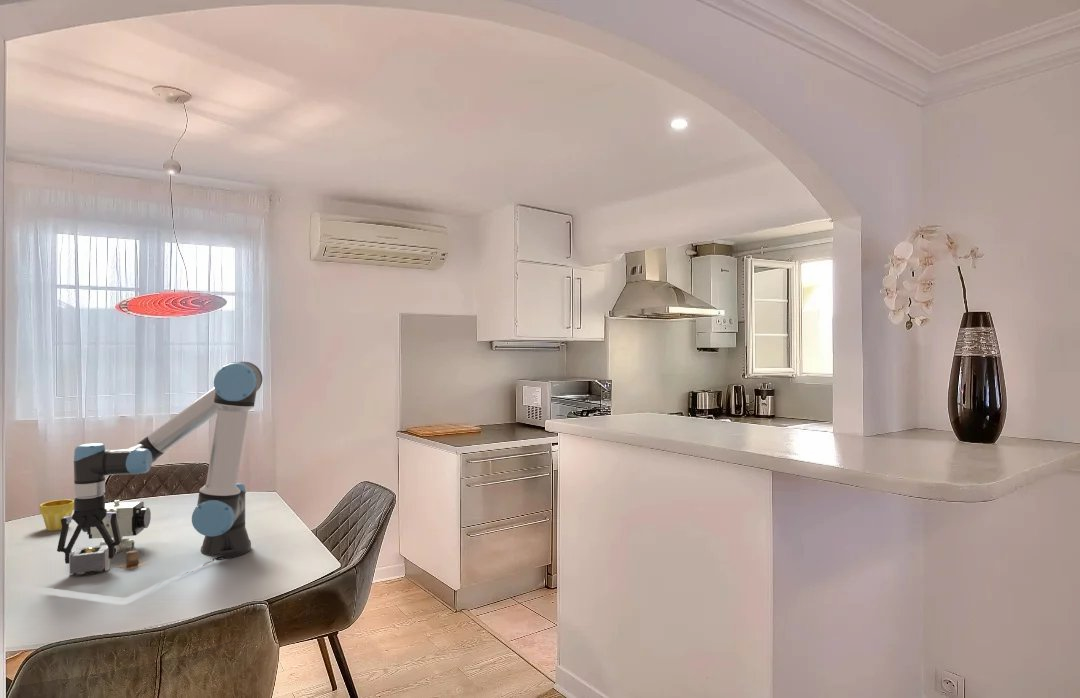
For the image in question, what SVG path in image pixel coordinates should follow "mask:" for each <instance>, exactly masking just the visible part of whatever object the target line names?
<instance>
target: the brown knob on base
mask: <svg viewBox="0 0 1080 698" xmlns="http://www.w3.org/2000/svg"><path fill="white" fill-rule="evenodd" d="M139 553H140V552H139V550H138V549H136V550H135V549H133V550H129V551H127V552H125V556H126V557H125V561H126V562H125V563H124V564H121V565H118V566H115V568H117V569H126V570H133V569H135V568H138V567H141V566H143V565H146V564H149V563H150V562H148V561H140V560H139Z"/></svg>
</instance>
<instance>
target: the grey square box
mask: <svg viewBox="0 0 1080 698" xmlns="http://www.w3.org/2000/svg"><path fill="white" fill-rule="evenodd" d="M90 547H91V548H94V549H95V552H91V553H84V552H85V550H86V549H87V548H90ZM106 547H107V545H102V546H99V545H96V546H88V547H87V546H86V547H79V548H77V547H76V549H75V551H74V553H73V554H72V555H71V556H70V574H71V573H74V574H77V573H79V572H87V571H94V570H102V569H103V570H105V549H106Z"/></svg>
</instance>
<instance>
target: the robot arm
mask: <svg viewBox="0 0 1080 698" xmlns="http://www.w3.org/2000/svg"><path fill="white" fill-rule="evenodd" d="M213 379H214V380H213V388H212V389H210V390H209V391H207V392H206V393H205V394H203V395H202V396H200V397H199V398H198V399H196V400H195V401H194V402H192V403H191V404H190V405H188V406H186V407H185V408H184V409H183V410H181V411H180V412H179V413H177V414H176V415H174V416H173V417H172V418H170V419H169V420H168V421H166V422H165V423H164V424H162V425H161V426H160V427H158V428H157V429H155V430H154V431H153V432H151V433H150V434H148V435H147V436H145V437H144V438H143V439H141V440H140V441H138V442H137V443H136V444H135V445H132V446H131V447H127V448H125V449H106V448H107V447H106V446H105V444H104V443H102V442H101V443H100V442H93V443H92V442H91V443H83V444H79V445H77V446H76V447H75V448H74V453H73V454H74V455H73V477H74V478H73V479H74V480H73V496H74V497H75V498H74V510H73V513H72V515H71V516H68V517H67V516H65V517H63V518H62V519H61V524H62V529H61V530H60V534H59V539H58V543H57V548H56V551H57V552H58V553H61V552H62V553H64V563H65V564H67V565H68V564H69V567H68V568H69V569H68V570H69V571H68V572H69V576H73V575H74V574H75V573H71V574H70V556H71V555H72V554H73V553H74V551H75V550H76V549H75V550H73V547H74V545H75V544H76V542H77V540H78V537H79V536H80V534H81V531H82V528H87V527H96V528H97V529H98V530H99V532H100V534H101V535H102V537H103V538H102V539H103V540H104V541H103V542H106V544H107V547H106V549H105V568H104V571H106V572H107V571H109V570H110V568H111V559H113V558H114V556H115V548H114V546H116V545H119V544H120V543H121V536H120V532H119V527H118V523H117V515H118V512H117V511H115V512H107V511H106V509H105V504H106V495H105V493H106V476H115V475H118V476H119V475H138V474H146V473H148V472H149V471H150V470H151V468H152V464H153V463H154V462H156V461H157V460H158V459H159V458H160V457H161V456H162V455H164V454H165V453H166V452H168V451H169V450H170V449H172V448H173V447H175V446H176V445H177V444H179V443H180V442H181V441H183V440H184V439H185V438H186V437H188V436H189V435H190V434H192V433H193V432H195V431H196V430H197V429H199V428H200V427H202V426H203V425H204V424H206V423H207V422H208V421H209V420H211V419H212V418H214V417H215V416H216V420H215V426H214V427H215V428H214V433H213V438H212V444H211V445H212V446H211V451H210V457H209V464H208V468H207V475H206V483H205V484H204V485H203V486H202V487H200V488H199V491H198V498H197V504H196V507H194V510H193V512H192V515H191V524H192V527H193V528H194V530H195V531H196V532H197V533H199V534H200V535H203V536H204V537H203V538H204V539H203V542H202V545H201V546H200V553H201V554H202V555H205V556H217V557H214V558H213V560H224V559H231V558H236V557H239V556H243V555H245V554H248V553H249V552H250V551H251V549H252V541H251V539H250V538H249V534H248V531H247V527H246V493H247V490H246V485H245V484H244V483H242V482H238V476H239V472H240V471H239V470H240V464H241V457H242V451H243V445H244V439H245V433H246V426H247V420H248V416H249V415H248V414H249V411H250V410H252V409H253V408H254V407H255V404H256V397H257V392H258V391H259V389H260V388H261V387H262V385H263V373H262V370H260V368H259V367H258V366H257V365H256V364H254V363H252V362H249V361H237V362H236V361H234V362H230V363H226V364H225V365H223V366H222V367H221V368H220V369H218V371H217V372H216V373H215V376H214V378H213ZM105 516H107V517H108V519H109V520H111V521H110V522H111V527H112V532H113V536H114V541H113V538H111V536H110V535H109V533H108V531H107V529H106V528H105V526H104V523H103V521H102V520H103V519H104V518H105ZM72 521H74V522H75V523H76V524H77V526H76V528H75V529H74V532H73V534H72V535H71V538H70V540H69V542H68V544H67V546H66V541H67V536H68V531H69V528H70V524H71V523H72Z"/></svg>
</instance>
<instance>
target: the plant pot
mask: <svg viewBox="0 0 1080 698" xmlns="http://www.w3.org/2000/svg"><path fill="white" fill-rule="evenodd" d="M73 512H74V500H73V499H56V500H51V501H47V502H43V503H41V504H39V514H40V515H41V516H42V518H43V522H44V525H45V529H46V531H49V532H50V531H51V532H52V531H53V532H54V531H55V532H56V531H61V529H62V524H61V519H62V518H63V517H65V516H67V517H68V516H72V515H73Z"/></svg>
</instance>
